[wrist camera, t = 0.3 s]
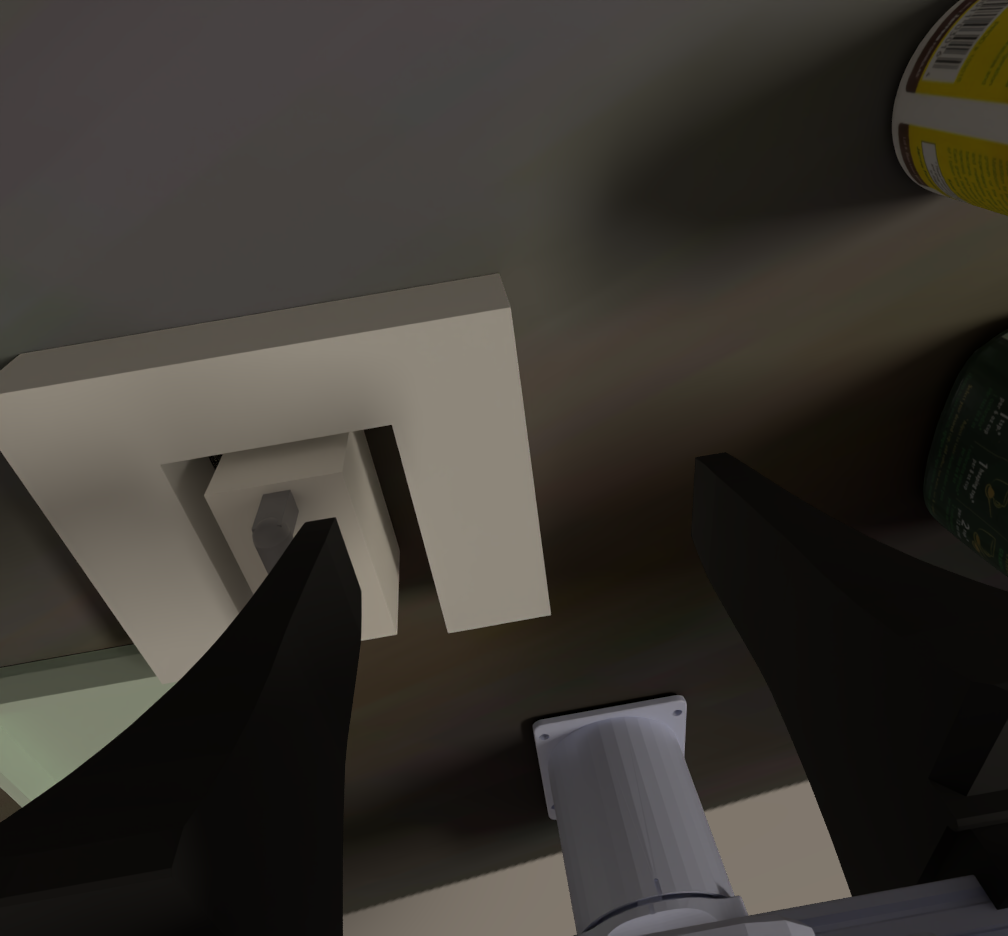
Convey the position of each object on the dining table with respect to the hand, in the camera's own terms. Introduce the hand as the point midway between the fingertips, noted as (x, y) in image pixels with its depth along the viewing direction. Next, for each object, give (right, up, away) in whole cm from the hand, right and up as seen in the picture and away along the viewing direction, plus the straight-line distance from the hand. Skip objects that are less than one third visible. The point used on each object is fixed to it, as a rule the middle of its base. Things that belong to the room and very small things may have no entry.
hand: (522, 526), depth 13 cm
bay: (-7, 0, +11) cm, 13 cm away
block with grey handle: (-7, 0, +11) cm, 13 cm away
